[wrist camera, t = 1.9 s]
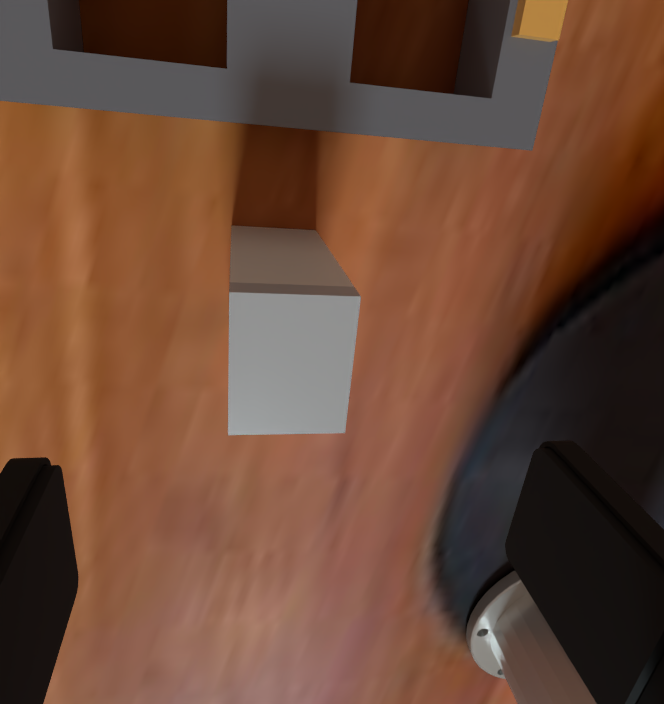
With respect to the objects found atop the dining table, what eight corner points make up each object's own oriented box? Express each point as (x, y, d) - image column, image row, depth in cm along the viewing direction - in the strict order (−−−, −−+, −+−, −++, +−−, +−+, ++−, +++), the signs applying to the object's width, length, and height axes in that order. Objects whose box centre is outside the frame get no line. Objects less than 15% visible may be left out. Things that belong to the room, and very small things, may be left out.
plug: (316, 230, 25) (360, 296, 16) (308, 326, 27) (344, 433, 18) (231, 225, 24) (229, 292, 15) (230, 324, 26) (227, 435, 17)
